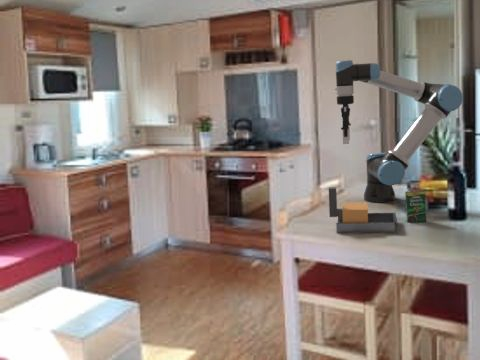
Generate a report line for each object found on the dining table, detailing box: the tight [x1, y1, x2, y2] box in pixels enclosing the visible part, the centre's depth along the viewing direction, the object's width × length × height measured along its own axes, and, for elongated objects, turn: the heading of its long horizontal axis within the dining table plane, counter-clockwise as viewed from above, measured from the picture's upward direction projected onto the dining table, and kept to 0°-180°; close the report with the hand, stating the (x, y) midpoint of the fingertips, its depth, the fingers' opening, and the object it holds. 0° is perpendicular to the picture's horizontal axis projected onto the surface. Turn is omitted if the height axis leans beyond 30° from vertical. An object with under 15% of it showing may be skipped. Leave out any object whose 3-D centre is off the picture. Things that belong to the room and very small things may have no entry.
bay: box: [335, 212, 399, 234], centre depth 233 cm, size 24×16×4 cm, turn 78°
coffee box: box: [404, 189, 427, 223], centre depth 236 cm, size 8×3×13 cm, turn 80°
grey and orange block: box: [328, 186, 369, 223], centre depth 233 cm, size 16×12×16 cm
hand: (346, 141), depth 259 cm, fingers open, 13 cm apart
